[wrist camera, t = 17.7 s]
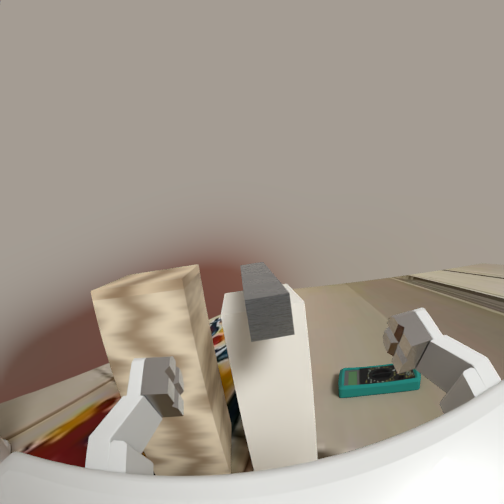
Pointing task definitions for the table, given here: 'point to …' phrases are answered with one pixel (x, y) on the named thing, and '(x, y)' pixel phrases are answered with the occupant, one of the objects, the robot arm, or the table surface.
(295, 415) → the block
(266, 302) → the rod
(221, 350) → the table surface
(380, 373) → the digital multimeter
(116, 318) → the tall stand
